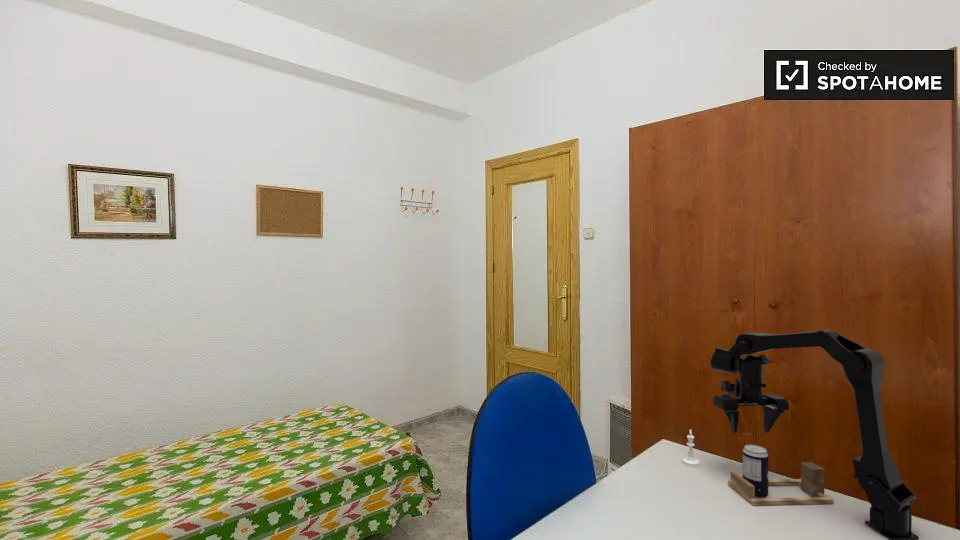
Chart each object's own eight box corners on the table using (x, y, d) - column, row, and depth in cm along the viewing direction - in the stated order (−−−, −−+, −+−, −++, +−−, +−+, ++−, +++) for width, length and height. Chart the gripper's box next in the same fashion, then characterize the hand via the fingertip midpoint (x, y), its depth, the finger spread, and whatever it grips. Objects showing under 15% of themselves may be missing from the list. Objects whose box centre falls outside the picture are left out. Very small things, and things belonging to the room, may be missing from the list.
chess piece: (682, 465, 130) (683, 431, 130) (680, 458, 135) (680, 426, 135) (701, 467, 129) (701, 433, 128) (698, 460, 133) (698, 427, 133)
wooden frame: (802, 482, 119) (802, 457, 119) (834, 503, 109) (834, 475, 109) (727, 484, 118) (727, 458, 118) (753, 505, 108) (753, 476, 108)
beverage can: (772, 501, 110) (772, 454, 110) (747, 499, 111) (747, 452, 111) (762, 490, 116) (763, 444, 115) (739, 488, 117) (739, 443, 117)
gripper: (763, 370, 132) (763, 421, 132) (702, 370, 132) (702, 422, 132) (791, 379, 121) (790, 436, 121) (724, 380, 120) (724, 437, 121)
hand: (750, 432), depth 124 cm, fingers open, 9 cm apart
